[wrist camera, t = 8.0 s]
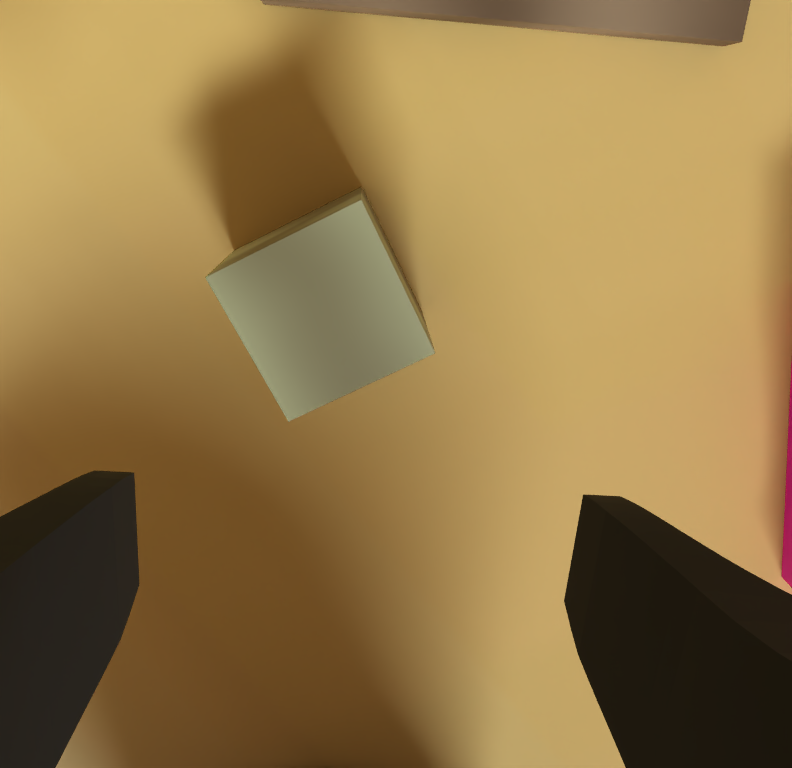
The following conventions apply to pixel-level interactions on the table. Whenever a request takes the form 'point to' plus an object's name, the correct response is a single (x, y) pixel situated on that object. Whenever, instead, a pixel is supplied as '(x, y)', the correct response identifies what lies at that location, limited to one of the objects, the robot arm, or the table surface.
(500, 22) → the board
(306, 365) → the olive block
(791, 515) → the toy block
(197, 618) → the table surface
